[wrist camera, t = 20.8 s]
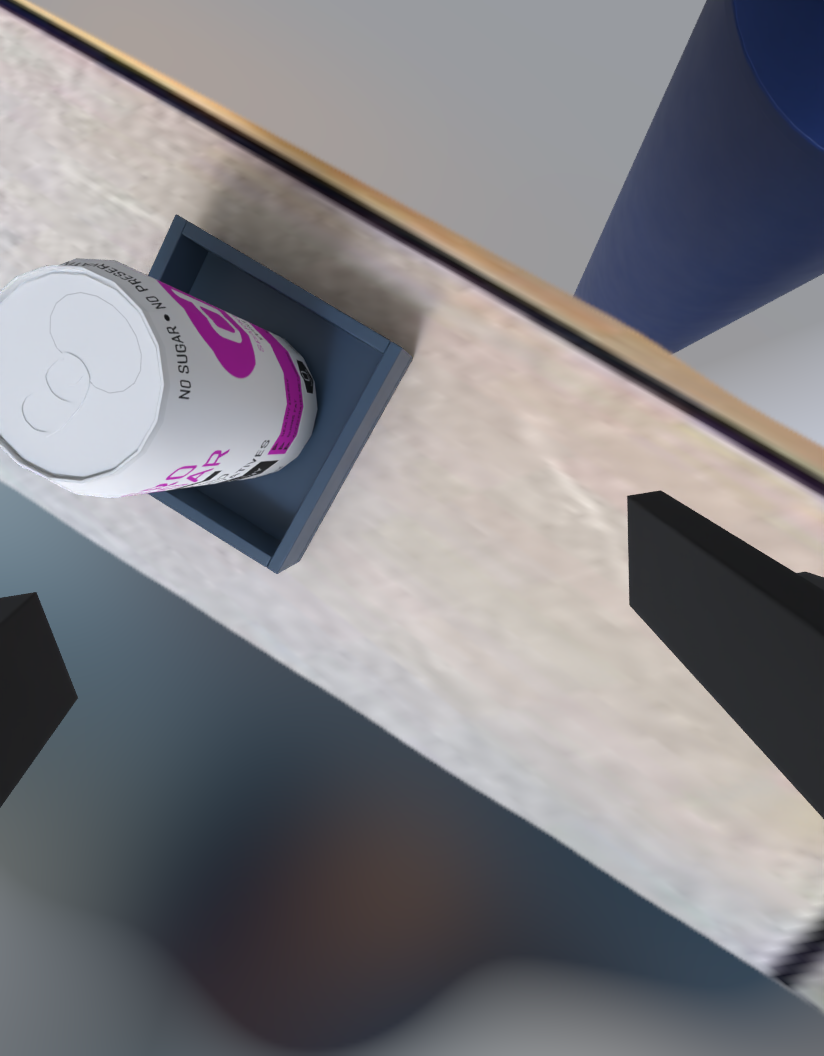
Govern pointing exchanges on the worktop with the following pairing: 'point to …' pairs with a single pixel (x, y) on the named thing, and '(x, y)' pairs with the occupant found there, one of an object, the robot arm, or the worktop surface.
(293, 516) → the blue open tray
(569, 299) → the worktop surface
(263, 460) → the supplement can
